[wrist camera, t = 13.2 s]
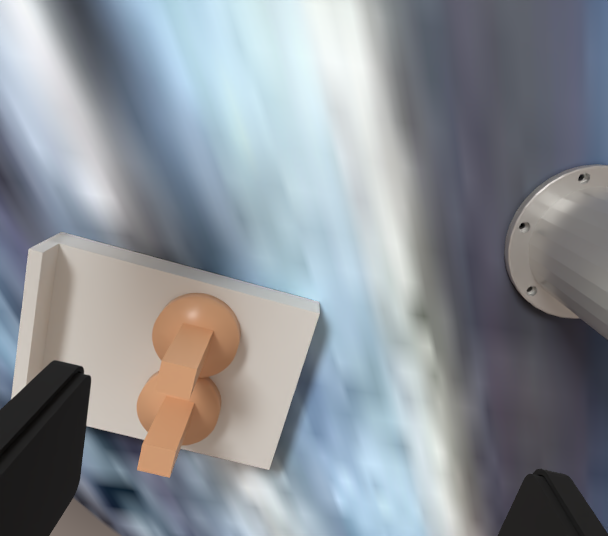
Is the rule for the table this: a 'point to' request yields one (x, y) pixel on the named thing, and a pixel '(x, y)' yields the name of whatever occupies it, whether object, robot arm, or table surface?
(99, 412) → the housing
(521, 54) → the table surface
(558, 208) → the robot arm
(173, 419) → the dome with square post
